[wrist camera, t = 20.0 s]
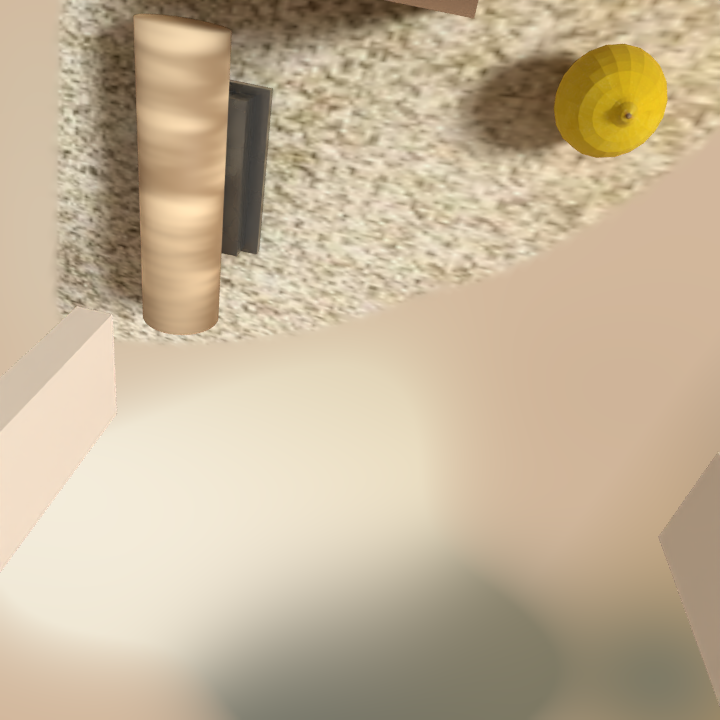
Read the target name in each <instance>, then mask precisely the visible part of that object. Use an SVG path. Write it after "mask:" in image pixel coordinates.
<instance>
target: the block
mask: <svg viewBox="0 0 720 720" xmlns="http://www.w3.org/2000/svg"><path fill="white" fill-rule="evenodd" d="M386 1H391V2H396V3H401V4H406V5H411V6H416V7H420V8H425V9H430V10H435V11H440V12H445V13H450V14H455V15H460V16H464V17H469V18H474V16H475V12H476V8H477V4H478V0H386Z"/></svg>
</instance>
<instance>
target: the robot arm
mask: <svg viewBox="0 0 720 720" xmlns="http://www.w3.org/2000/svg"><path fill="white" fill-rule="evenodd" d="M116 414H117V407H116V383H115V361H114V339H113V317H112V314H109V313H105V312H101V311H96V310H92V309H87V308H83V307H79V306H77V307H75V308H74V309H73V310H72V311H71V312H70V313H69V314H68V315H67V316H66V317H65V318H64V319H63V320H61V321H60V322H59V323H58V324H57V325H56V326H55V327H54V328H53V329H52V330H51V331H50V332H49V333H47V334H46V336H44V337H43V338H42V339H41V340H40V341H39V342H38V343H37V344H36V345H35V346H33V347H32V348H31V349H30V350H29V351H28V352H27V353H26V354H25V355H24V356H23V357H22V358H21V359H20V360H18V361H17V362H16V363H15V364H14V365H13V366H12V367H11V368H10V369H9V370H8V371H7V372H5V373H4V374H3V375H2V376H1V377H0V572H1V571H2V570H3V568H4V567H5V565H6V564H7V563H8V561H9V560H10V559H11V557H12V556H13V555H14V553H15V552H16V551H17V549H18V548H19V546H20V545H21V544H22V542H23V541H24V540H25V538H26V537H27V536H28V534H29V533H30V531H31V530H32V529H33V527H34V526H35V525H36V523H37V522H38V520H39V519H40V518H41V516H42V515H43V514H44V512H45V511H46V510H47V508H48V507H49V505H50V504H51V503H52V501H53V500H54V499H55V497H56V496H57V495H58V493H59V492H60V491H61V489H62V488H63V486H64V485H65V484H66V482H67V481H68V480H69V478H70V477H71V476H72V474H73V473H74V471H75V470H76V469H77V467H78V466H79V465H80V463H81V462H82V461H83V459H84V458H85V456H86V455H87V454H88V452H89V451H90V450H91V448H92V447H93V445H94V444H95V443H96V441H97V440H98V439H99V437H100V436H101V435H102V433H103V432H104V430H105V429H106V428H107V426H108V425H109V424H110V422H111V421H112V420H113V418H114V417H115V415H116ZM659 540H660V543H661V546H662V548H663V551H664V554H665V557H666V559H667V562H668V565H669V568H670V570H671V573H672V576H673V579H674V582H675V584H676V587H677V589H678V593H679V595H680V598H681V601H682V604H683V606H684V609H685V612H686V615H687V617H688V620H689V623H690V626H691V628H692V631H693V634H694V637H695V639H696V642H697V645H698V648H699V650H700V653H701V656H702V659H703V661H704V664H705V667H706V670H707V673H708V675H709V678H710V681H711V684H712V686H713V689H714V692H715V695H716V697H717V700H718V703H719V706H720V453H719V452H718V453H717V454H716V456H715V457H714V458H713V460H712V461H711V463H710V464H709V465H708V467H707V468H706V470H705V471H704V473H703V474H702V475H701V477H700V478H699V480H698V481H697V483H696V484H695V485H694V487H693V488H692V490H691V491H690V492H689V494H688V495H687V497H686V498H685V500H684V501H683V503H682V504H681V506H680V507H679V508H678V510H677V511H676V513H675V514H674V515H673V517H672V518H671V520H670V521H669V522H668V524H667V525H666V527H665V528H664V529H663V531H662V532H661V534H660V535H659Z"/></svg>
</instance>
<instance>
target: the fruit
mask: <svg viewBox="0 0 720 720" xmlns="http://www.w3.org/2000/svg"><path fill="white" fill-rule="evenodd" d="M666 104H667V82H666V79H665V77H664V74H663V72H662V69H661V67H660V65H659V64H658V63H657V62H656V61H655V60H654V59H653V58H652V56H651V55H649V54H648V53H647V52H645V51H644V50H642V49H641V48H638V47H634V46H630V45H627V44H615V45H605V46H602V47H599V48H597V49H594V50H591V51H589V52H588V53H586V54H585V55H583V56H582V57H581V58H579V59H578V60H577V61H575V62H574V63H573V65H572V66H571V67H570V68H569V70H568V71H567V72H566V73H565V74H564V76H563V78H562V80H561V82H560V85H559V87H558V89H557V91H556V98H555V104H554V114H555V121H556V126H557V128H558V130H559V132H560V134H561V136H562V138H563V139H564V140H565V141H567V142H568V143H569V144H570V145H571V146H572V147H573V148H575V149H576V150H577V151H579V152H580V153H582V154H585V155H588V156H592V157H596V158H599V157H616V156H619V155H622V154H625V153H628V152H630V151H632V150H633V149H635V148H637V147H638V146H640V145H641V144H643V143H644V142H645V141H646V140H647V139H648V138H649V137H650V136H651V135H652V134H653V133H654V132H655V130H656V129H657V127H658V125H659V123H660V122H661V120H662V118H663V116H664V112H665V108H666Z"/></svg>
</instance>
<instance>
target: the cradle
mask: <svg viewBox="0 0 720 720" xmlns="http://www.w3.org/2000/svg"><path fill="white" fill-rule="evenodd" d="M272 92H273V88H268V87H263V86H258V85H253V84H248V83H244V82H239V81H234V80H229V100H228V122H227V143H226V164H225V186H224V207H223V228H222V250H221V253H224V254H228V255H233V256H238V254H239V253H240V251H244V252H249V253H253V254H258V252H259V247H260V235H261V223H262V211H263V199H264V188H265V176H266V164H267V152H268V140H269V128H270V116H271V104H272Z"/></svg>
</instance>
